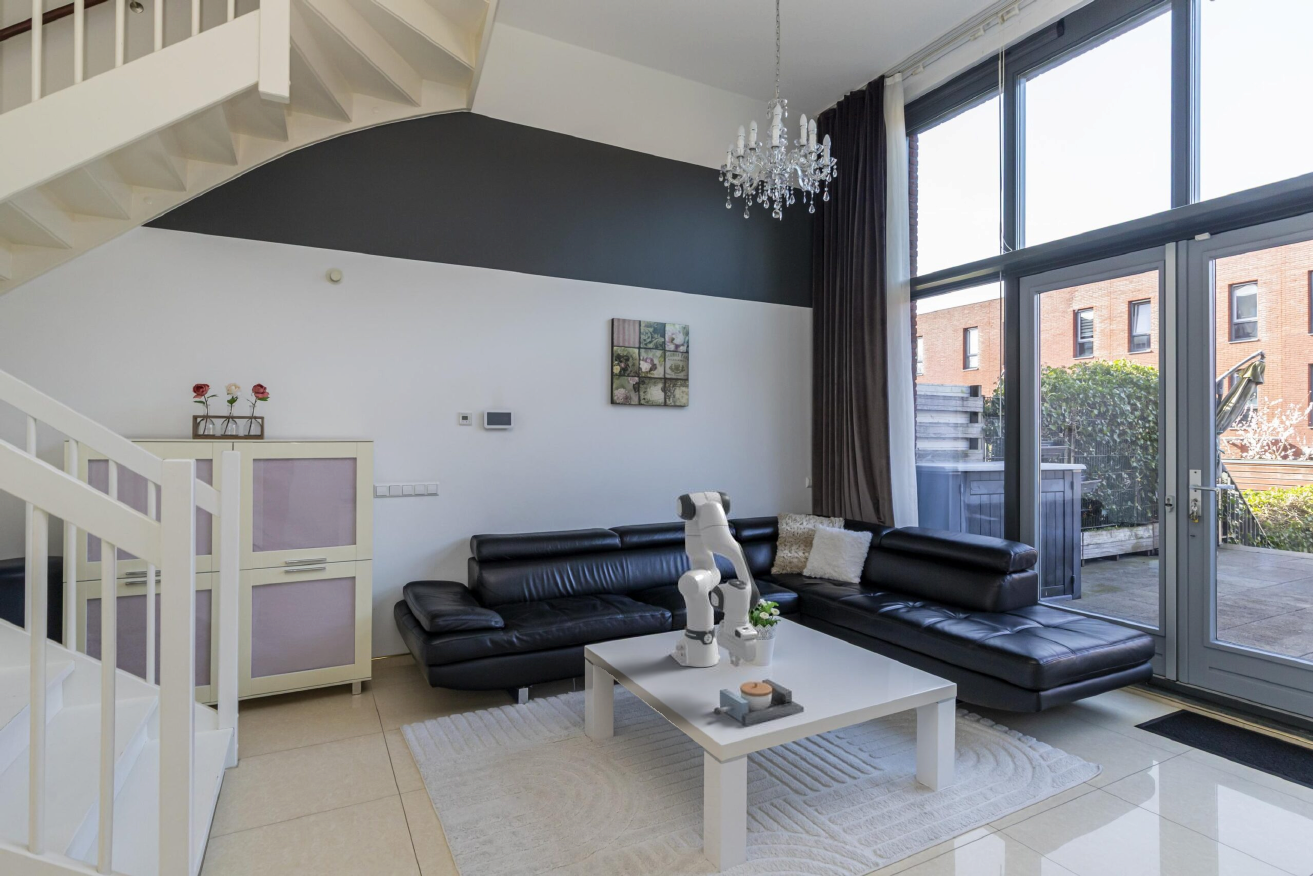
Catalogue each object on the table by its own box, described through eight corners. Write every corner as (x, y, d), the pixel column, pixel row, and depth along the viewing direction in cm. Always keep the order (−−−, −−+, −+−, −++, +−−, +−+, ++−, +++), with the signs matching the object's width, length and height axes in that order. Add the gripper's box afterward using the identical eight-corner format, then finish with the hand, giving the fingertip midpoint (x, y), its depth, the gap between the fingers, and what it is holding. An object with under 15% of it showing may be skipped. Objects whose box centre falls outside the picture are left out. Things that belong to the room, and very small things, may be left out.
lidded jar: (733, 710, 224) (733, 682, 224) (753, 701, 231) (753, 674, 231) (759, 719, 216) (758, 691, 216) (778, 710, 223) (778, 682, 223)
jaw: (702, 712, 221) (702, 694, 221) (726, 706, 226) (726, 688, 226) (724, 727, 210) (723, 708, 210) (749, 720, 214) (748, 701, 214)
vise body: (718, 709, 224) (718, 690, 224) (774, 695, 236) (774, 677, 236) (745, 726, 211) (745, 706, 211) (803, 711, 222) (803, 692, 222)
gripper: (713, 619, 241) (711, 656, 242) (745, 636, 223) (743, 676, 224) (727, 617, 244) (726, 654, 245) (760, 634, 226) (758, 674, 227)
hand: (734, 665), depth 234 cm, fingers closed
